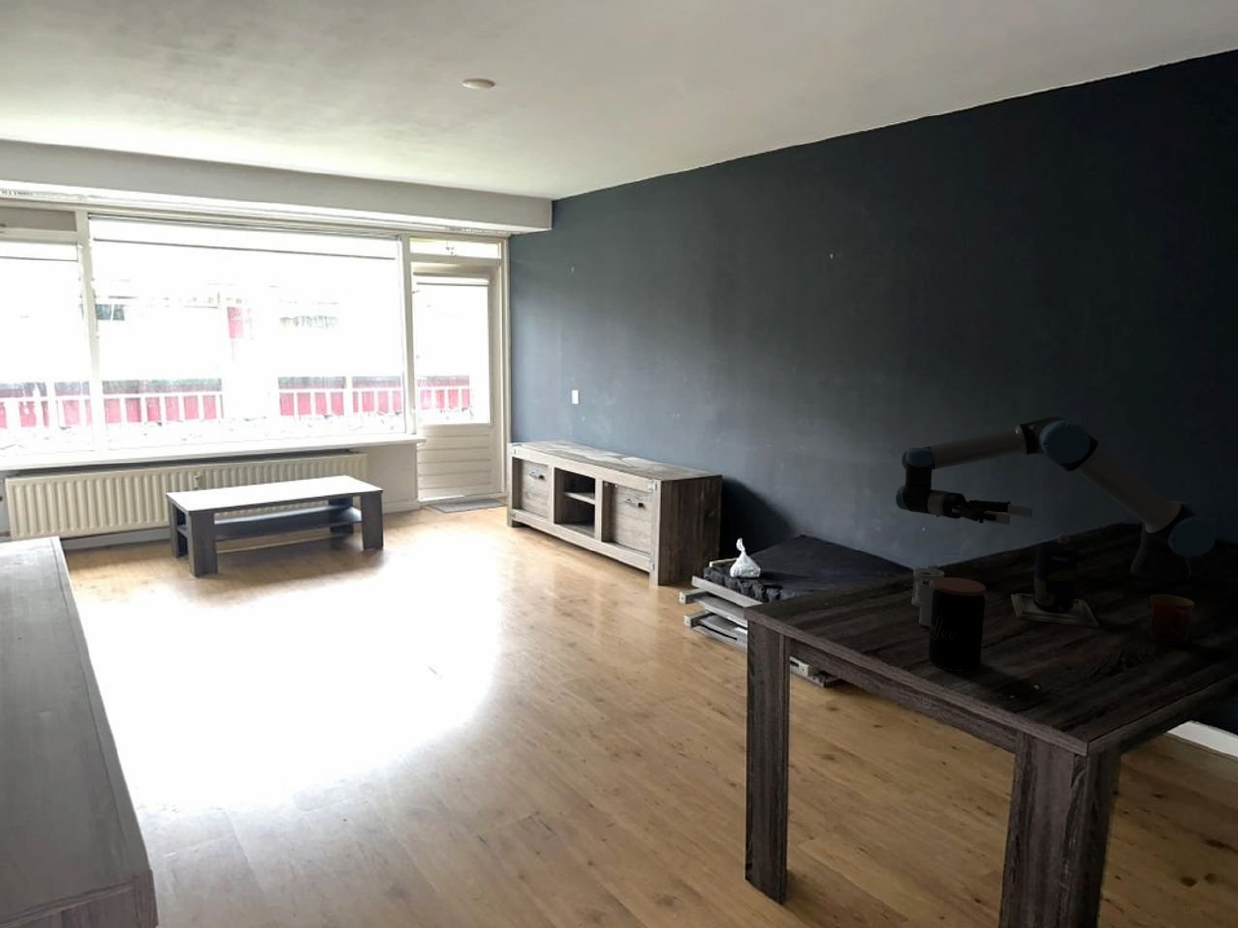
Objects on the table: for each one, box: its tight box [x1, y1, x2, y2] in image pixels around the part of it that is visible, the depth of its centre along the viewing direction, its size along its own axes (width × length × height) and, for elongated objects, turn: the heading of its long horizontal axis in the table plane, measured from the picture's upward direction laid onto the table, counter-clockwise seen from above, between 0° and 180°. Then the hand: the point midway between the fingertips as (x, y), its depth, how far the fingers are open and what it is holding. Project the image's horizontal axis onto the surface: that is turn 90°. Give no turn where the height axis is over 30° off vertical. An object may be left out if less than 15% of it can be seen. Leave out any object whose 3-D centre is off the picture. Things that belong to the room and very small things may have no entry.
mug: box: [1149, 593, 1196, 647], centre depth 191 cm, size 12×9×10 cm
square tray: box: [1011, 592, 1099, 629], centre depth 214 cm, size 18×18×2 cm
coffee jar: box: [927, 576, 987, 672], centre depth 179 cm, size 11×11×18 cm
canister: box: [1032, 540, 1079, 612], centre depth 212 cm, size 10×10×18 cm
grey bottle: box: [911, 564, 945, 626], centre depth 202 cm, size 7×7×15 cm
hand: (1020, 515), depth 225 cm, fingers open, 13 cm apart
